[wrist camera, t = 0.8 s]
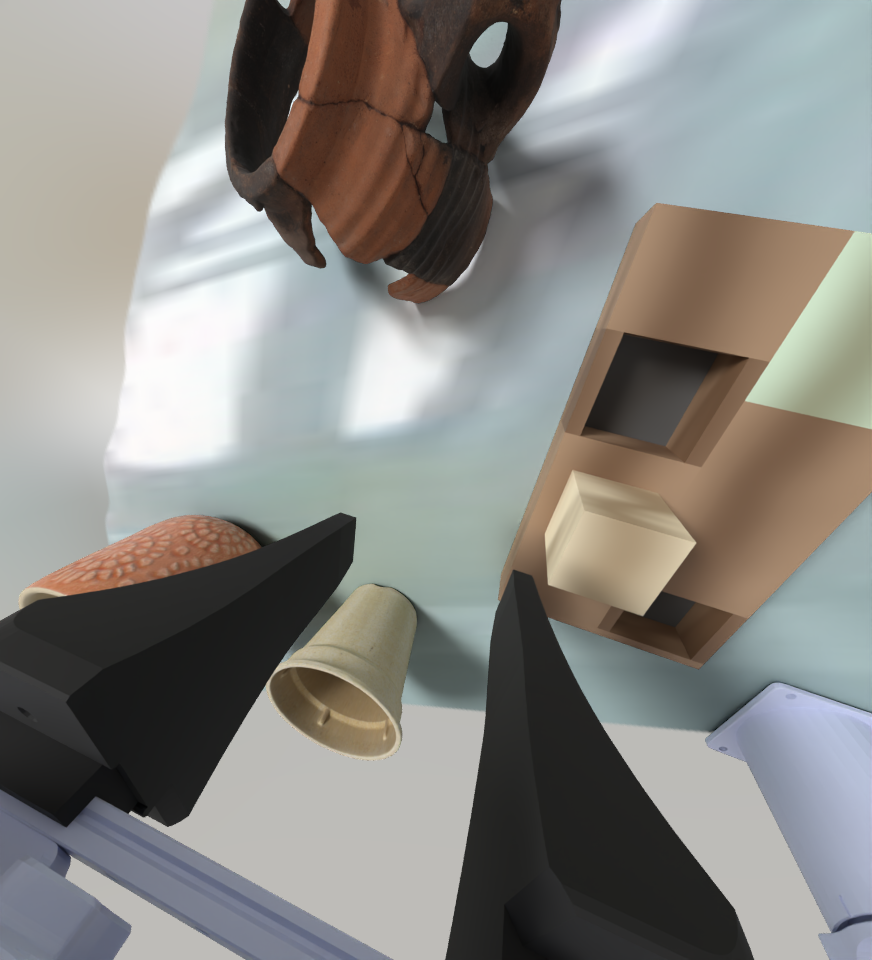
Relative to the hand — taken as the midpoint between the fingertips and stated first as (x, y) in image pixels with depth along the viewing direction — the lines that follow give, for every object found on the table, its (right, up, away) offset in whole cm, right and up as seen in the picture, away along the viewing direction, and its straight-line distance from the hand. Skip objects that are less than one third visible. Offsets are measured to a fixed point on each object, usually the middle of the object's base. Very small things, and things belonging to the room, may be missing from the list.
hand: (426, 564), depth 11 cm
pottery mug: (-1, +17, +4) cm, 17 cm away
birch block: (+9, +1, +5) cm, 10 cm away
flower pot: (-4, -8, +17) cm, 19 cm away
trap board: (+12, +3, +6) cm, 14 cm away
